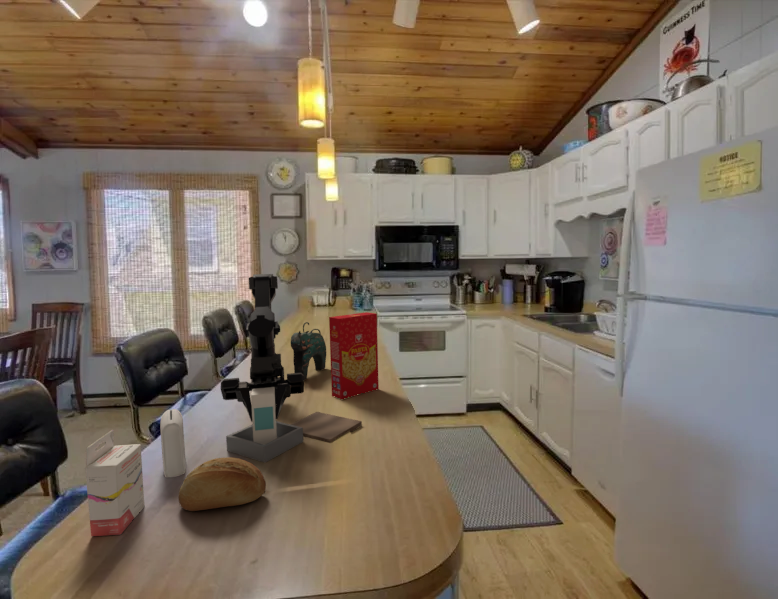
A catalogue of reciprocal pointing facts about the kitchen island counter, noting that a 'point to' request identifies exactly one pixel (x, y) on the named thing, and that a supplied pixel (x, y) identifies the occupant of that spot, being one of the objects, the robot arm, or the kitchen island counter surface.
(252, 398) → the carton
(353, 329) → the food packaging
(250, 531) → the kitchen island counter surface
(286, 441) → the tub
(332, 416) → the board
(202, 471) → the bread roll
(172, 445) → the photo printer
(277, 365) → the robot arm
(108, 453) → the ink cartridge box
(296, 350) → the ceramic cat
